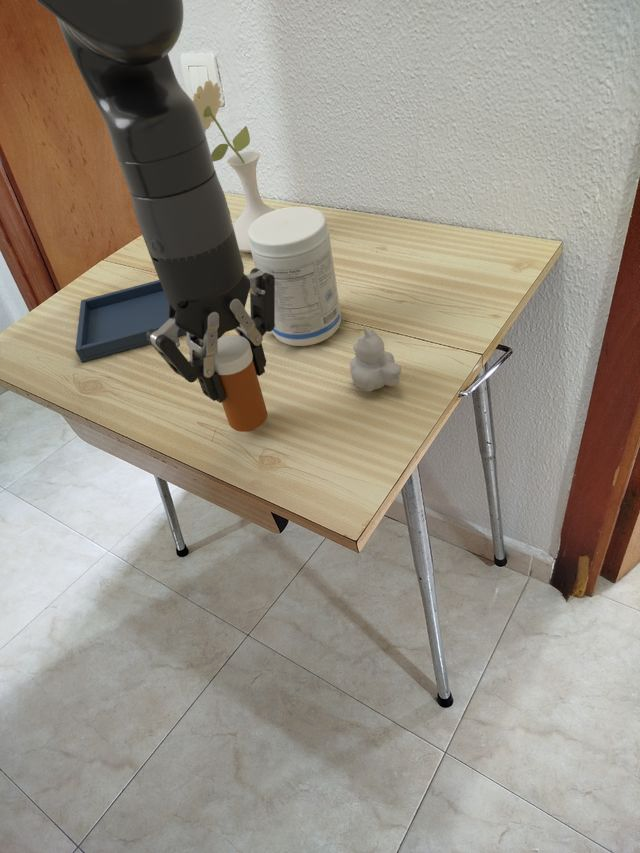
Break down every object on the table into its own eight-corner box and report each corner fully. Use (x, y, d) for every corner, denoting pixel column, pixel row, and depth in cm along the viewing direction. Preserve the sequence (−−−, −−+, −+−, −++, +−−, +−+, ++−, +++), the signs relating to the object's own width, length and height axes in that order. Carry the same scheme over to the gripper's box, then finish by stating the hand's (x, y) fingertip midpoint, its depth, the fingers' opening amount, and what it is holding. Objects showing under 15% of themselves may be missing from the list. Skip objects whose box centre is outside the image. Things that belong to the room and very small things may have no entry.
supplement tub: (271, 313, 82) (246, 212, 72) (338, 301, 82) (323, 198, 71) (272, 355, 75) (245, 250, 65) (346, 342, 75) (330, 234, 65)
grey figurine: (367, 363, 71) (360, 307, 66) (414, 380, 68) (411, 322, 62) (340, 389, 68) (331, 333, 63) (388, 408, 65) (382, 351, 59)
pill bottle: (230, 437, 63) (205, 368, 57) (224, 410, 67) (201, 341, 60) (272, 425, 64) (253, 355, 57) (265, 399, 67) (246, 330, 60)
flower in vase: (270, 220, 104) (234, 58, 86) (311, 237, 97) (280, 65, 79) (209, 251, 99) (157, 86, 81) (247, 271, 92) (200, 96, 74)
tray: (81, 362, 81) (75, 350, 79) (86, 311, 91) (80, 300, 89) (206, 328, 82) (201, 316, 81) (197, 282, 92) (193, 270, 90)
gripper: (228, 191, 55) (266, 339, 67) (95, 257, 49) (162, 407, 61) (280, 208, 51) (310, 363, 63) (140, 283, 45) (203, 439, 57)
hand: (237, 384), depth 62 cm, fingers closed on pill bottle, 4 cm apart
